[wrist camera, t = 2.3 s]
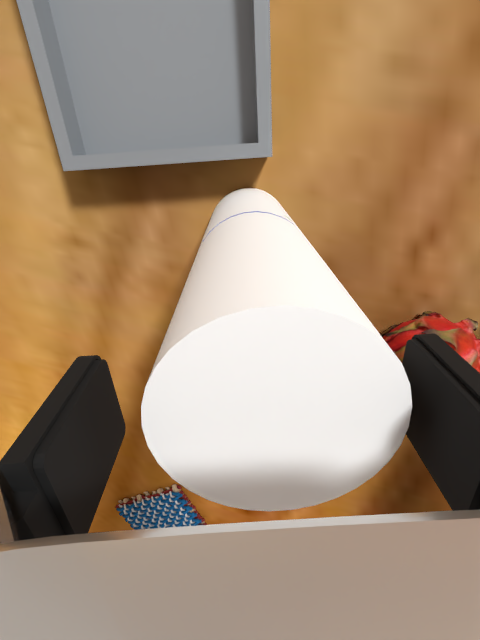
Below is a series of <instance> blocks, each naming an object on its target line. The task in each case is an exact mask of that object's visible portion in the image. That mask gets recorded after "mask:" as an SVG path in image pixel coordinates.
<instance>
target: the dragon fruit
mask: <svg viewBox="0 0 480 640" xmlns="http://www.w3.org/2000/svg"><path fill="white" fill-rule="evenodd" d="M477 327H478V322H476V321H473V320H472V319H469V318H467V319H465V320H462V321H461V322H459V323H452V322H451V321H449V320H447V319H446V318H444V317H443V316H442V315H441V314H438V313H436V312H430V311H427V312H423V314H422V317H420V318H418V319H415V320H410V321H407V322H402V323H400V324H399V325H393V326H391V327H390V328H389V329H387V330H386V331H384V332H383V333H382V334H380V335H381V336H382V338H383V339H384V340H385V342H386V343H387V344H388V346H389V347H390V348H391V350H392V351H393V352H394V353H395V355H396V356H397V357H398V359H399V360H400V361H401V363H402V362H403V357H404V352H405V346H406V342H407V341H408V340H410V339H412V337H413V336H414V335H415V334H431V333H434V334H437V335H438V336H439V337H440V338H441V339H443V340H444V341H445V342H446V343H447V344H448V345H449V346H450V347H451V348H452V349H454V350H455V351H456V352H457V353H458V354H459V355H460V356H461V357H462V358H464V359H465V360H466V361H467V362H468V363H469V364H470V365H471V366H472V367H473V368H475V369H476V370H477V371H478V372H479V373H480V339H477V338H476V337H475V335H474V333H473V330H474V331H475V330H477Z"/></svg>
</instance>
